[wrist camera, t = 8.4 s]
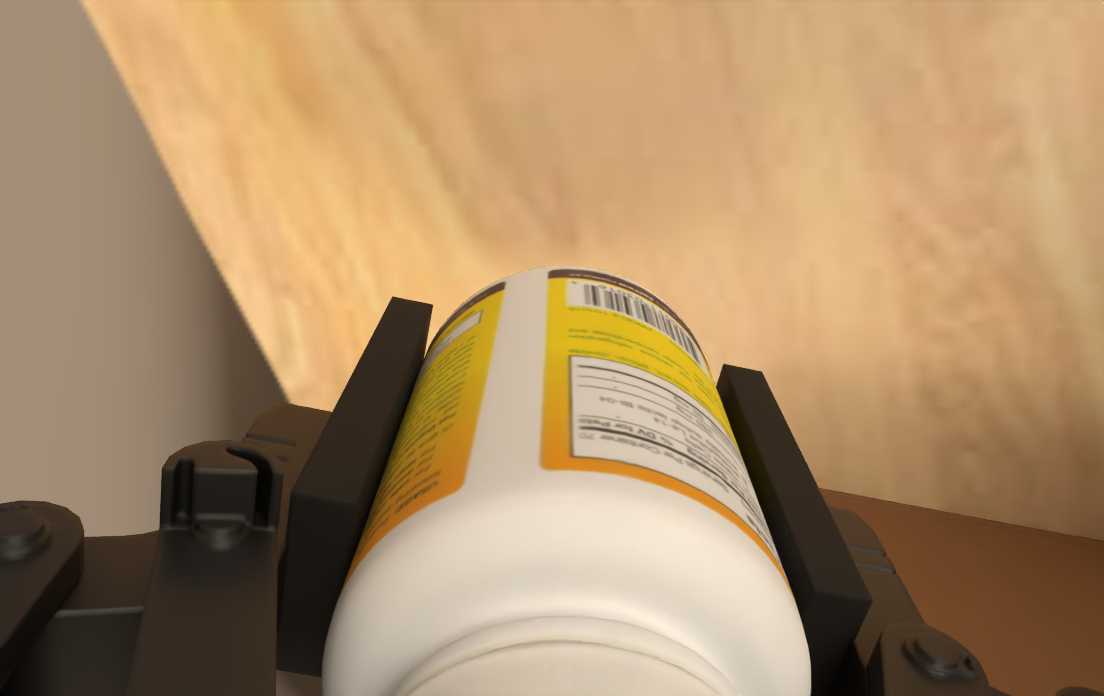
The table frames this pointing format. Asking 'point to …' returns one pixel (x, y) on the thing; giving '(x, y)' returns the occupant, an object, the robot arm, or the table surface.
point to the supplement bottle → (565, 515)
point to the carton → (999, 591)
